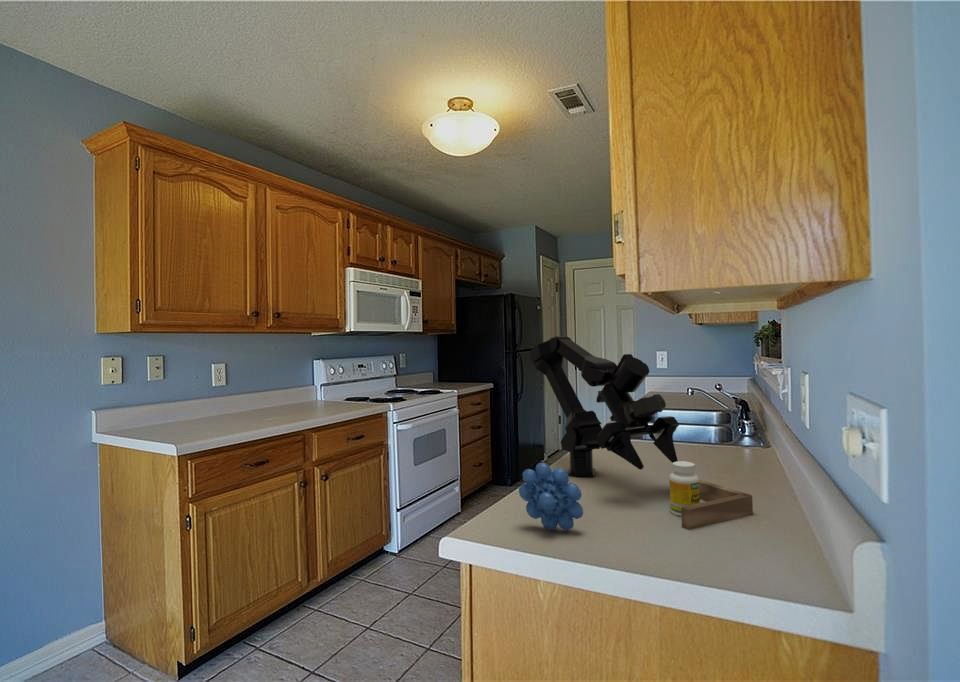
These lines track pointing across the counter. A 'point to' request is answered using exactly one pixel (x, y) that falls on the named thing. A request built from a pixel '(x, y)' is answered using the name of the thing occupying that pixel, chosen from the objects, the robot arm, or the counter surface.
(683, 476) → the supplement bottle
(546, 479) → the blue knobby flower
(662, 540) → the counter surface
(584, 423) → the robot arm
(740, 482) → the counter surface
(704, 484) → the walnut corner walls
